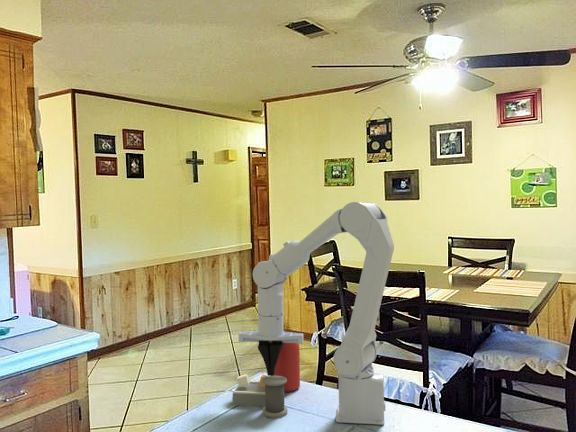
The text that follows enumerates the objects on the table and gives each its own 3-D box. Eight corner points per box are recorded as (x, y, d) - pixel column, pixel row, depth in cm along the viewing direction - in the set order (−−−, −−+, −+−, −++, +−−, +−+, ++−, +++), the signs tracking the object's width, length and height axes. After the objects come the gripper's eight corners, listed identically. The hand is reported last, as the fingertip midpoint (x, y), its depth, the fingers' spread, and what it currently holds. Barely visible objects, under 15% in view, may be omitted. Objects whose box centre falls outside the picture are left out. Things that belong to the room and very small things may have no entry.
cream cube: (250, 382, 112) (247, 373, 113) (248, 384, 111) (245, 376, 111) (241, 384, 113) (238, 376, 113) (239, 387, 111) (236, 378, 111)
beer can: (267, 390, 117) (267, 339, 117) (280, 381, 123) (280, 333, 123) (292, 394, 114) (291, 342, 114) (304, 385, 120) (304, 336, 120)
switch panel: (275, 393, 115) (275, 381, 115) (268, 406, 107) (268, 393, 107) (241, 391, 116) (241, 380, 116) (232, 404, 108) (232, 392, 108)
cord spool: (289, 408, 106) (288, 376, 106) (285, 418, 101) (284, 384, 101) (265, 407, 107) (264, 375, 107) (260, 417, 102) (259, 383, 101)
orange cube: (269, 385, 112) (271, 377, 112) (267, 388, 110) (270, 380, 110) (260, 382, 112) (262, 374, 112) (258, 385, 111) (261, 376, 110)
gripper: (304, 311, 114) (305, 369, 114) (243, 309, 116) (244, 367, 116) (300, 317, 107) (301, 380, 107) (235, 316, 109) (236, 377, 109)
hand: (271, 374), depth 111 cm, fingers closed
